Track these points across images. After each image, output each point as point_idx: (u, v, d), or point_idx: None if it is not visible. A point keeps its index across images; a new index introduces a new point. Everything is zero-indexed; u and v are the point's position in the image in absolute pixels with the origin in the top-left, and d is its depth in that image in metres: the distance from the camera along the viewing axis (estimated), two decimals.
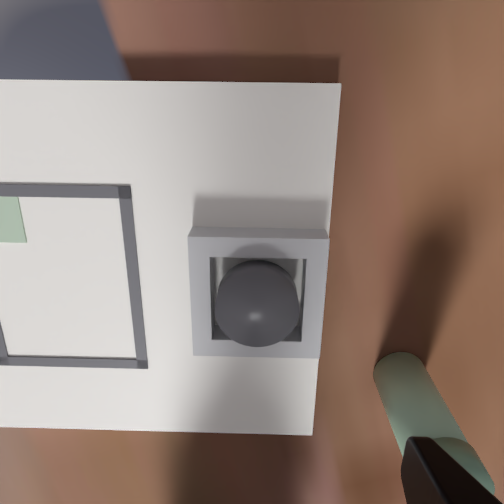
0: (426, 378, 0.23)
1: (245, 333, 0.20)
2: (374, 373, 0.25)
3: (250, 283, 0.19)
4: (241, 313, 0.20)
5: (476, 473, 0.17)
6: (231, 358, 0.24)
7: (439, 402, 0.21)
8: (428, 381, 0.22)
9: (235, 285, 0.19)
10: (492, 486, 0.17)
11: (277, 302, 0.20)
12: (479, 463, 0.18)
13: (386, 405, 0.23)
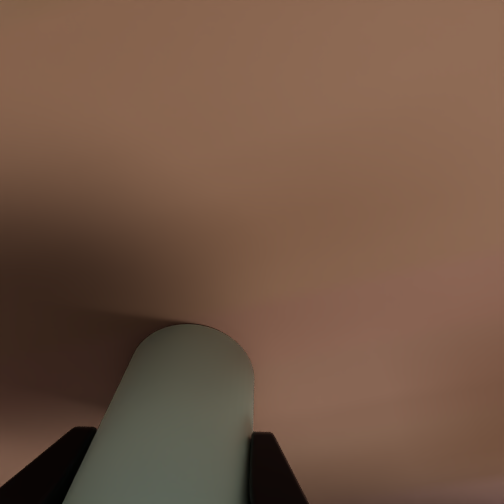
0: (101, 421, 0.08)
1: None
2: None
3: None
4: None
5: None
6: None
7: None
8: None
9: None
10: None
11: None
12: None
13: None
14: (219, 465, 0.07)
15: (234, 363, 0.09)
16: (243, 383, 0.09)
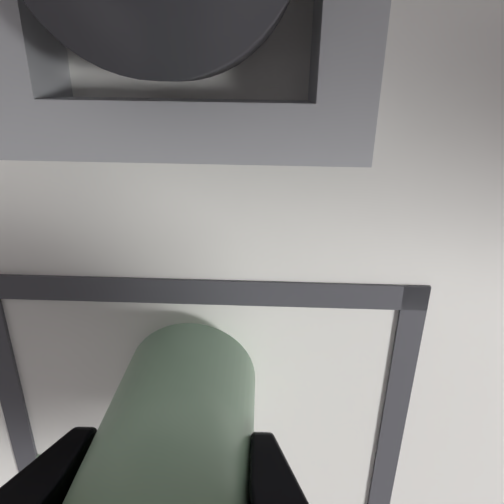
0: (102, 420, 0.08)
1: None
2: None
3: None
4: None
5: None
6: (431, 50, 0.08)
7: None
8: (95, 434, 0.08)
9: None
10: None
11: None
12: None
13: None
14: (220, 463, 0.06)
15: (235, 362, 0.09)
16: (244, 382, 0.09)
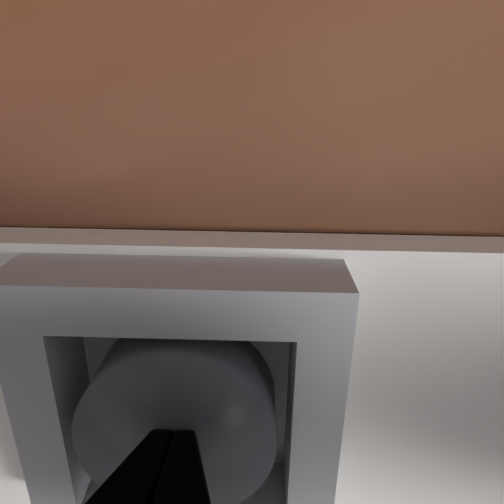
0: None
1: (237, 467, 0.08)
2: None
3: (102, 455, 0.08)
4: None
5: None
6: (375, 438, 0.10)
7: None
8: None
9: None
10: None
11: (145, 405, 0.08)
12: None
13: None
14: None
15: None
16: None
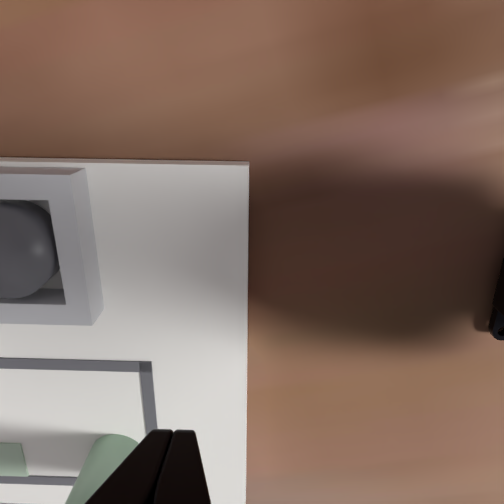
0: (76, 479, 0.21)
1: (33, 267, 0.17)
2: None
3: None
4: (7, 271, 0.17)
5: None
6: (126, 272, 0.19)
7: None
8: None
9: None
10: None
11: None
12: None
13: None
14: None
15: None
16: None
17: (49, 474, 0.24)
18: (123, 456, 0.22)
